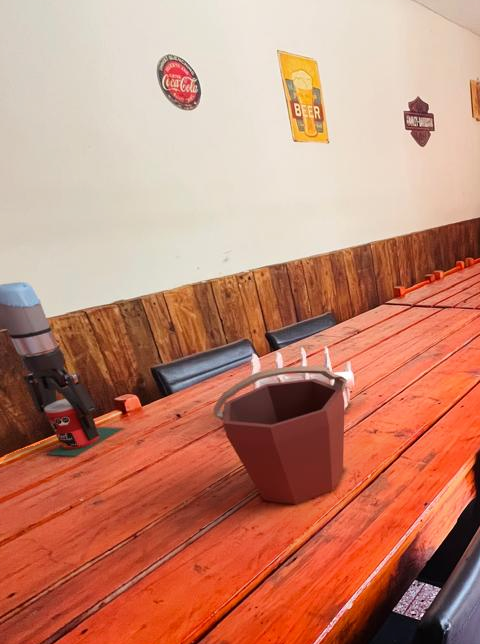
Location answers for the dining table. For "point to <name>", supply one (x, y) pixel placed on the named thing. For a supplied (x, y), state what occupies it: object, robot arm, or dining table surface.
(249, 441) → the bucket
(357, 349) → the dining table surface
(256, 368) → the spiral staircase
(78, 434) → the canned food
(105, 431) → the edge mat
